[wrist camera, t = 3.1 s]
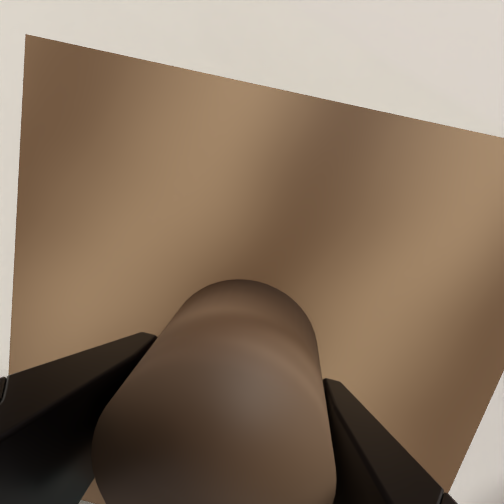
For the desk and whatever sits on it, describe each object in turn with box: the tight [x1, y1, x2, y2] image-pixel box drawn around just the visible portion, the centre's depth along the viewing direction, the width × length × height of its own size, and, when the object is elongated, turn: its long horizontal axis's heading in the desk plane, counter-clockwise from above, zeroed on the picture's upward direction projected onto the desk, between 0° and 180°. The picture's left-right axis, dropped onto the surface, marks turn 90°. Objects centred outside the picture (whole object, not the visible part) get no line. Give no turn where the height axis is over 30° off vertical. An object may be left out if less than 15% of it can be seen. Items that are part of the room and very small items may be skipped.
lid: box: [9, 34, 504, 504], centre depth 8 cm, size 13×13×5 cm
